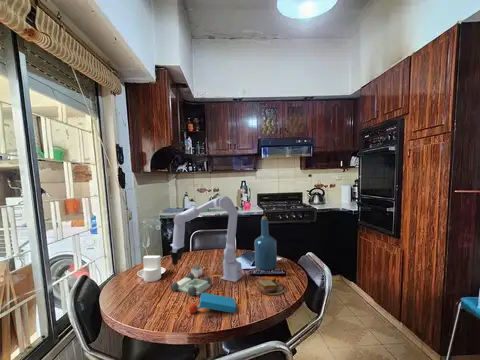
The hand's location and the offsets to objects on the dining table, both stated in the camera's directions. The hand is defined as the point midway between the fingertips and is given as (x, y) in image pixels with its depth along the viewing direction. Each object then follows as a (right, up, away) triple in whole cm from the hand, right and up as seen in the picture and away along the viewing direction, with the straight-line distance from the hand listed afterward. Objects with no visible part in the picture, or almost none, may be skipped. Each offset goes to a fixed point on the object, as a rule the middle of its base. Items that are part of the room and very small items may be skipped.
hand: (176, 262), depth 124 cm
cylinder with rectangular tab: (-15, -11, +5) cm, 19 cm away
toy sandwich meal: (+49, -9, -13) cm, 51 cm away
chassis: (+9, -10, -8) cm, 16 cm away
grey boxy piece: (+9, -10, +7) cm, 15 cm away
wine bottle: (+49, -9, +16) cm, 53 cm away
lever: (+22, -10, -28) cm, 37 cm away
